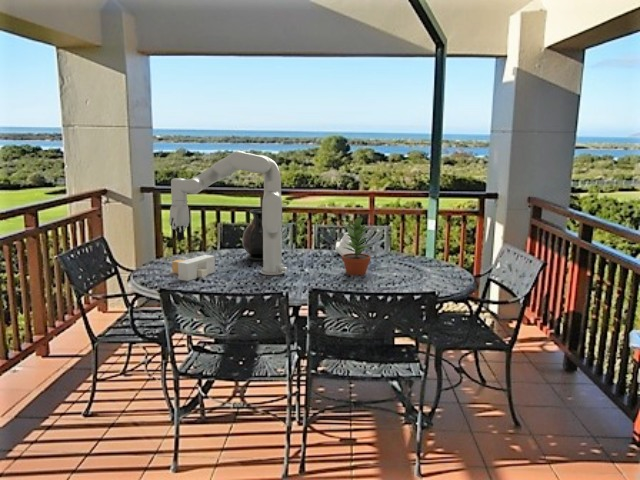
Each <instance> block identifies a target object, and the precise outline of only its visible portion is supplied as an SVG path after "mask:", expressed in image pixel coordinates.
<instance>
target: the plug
mask: <svg viewBox="0 0 640 480" xmlns="http://www.w3.org/2000/svg"><path fill="white" fill-rule="evenodd" d="M185 260H186V259H181V258H180V259H176V260H172V261H171V264H172V265H171V266H172V267H171V269H172V273H173V274H177V275H179V273H178V262H181V261H185ZM196 268H197V278H205V277H207V276H208V275H207V269H202V268H198V267H196Z"/></svg>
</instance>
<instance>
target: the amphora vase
mask: <svg viewBox="0 0 640 480" xmlns="http://www.w3.org/2000/svg"><path fill="white" fill-rule="evenodd" d="M249 214H252V217H253V218H252V221H251V222H249V224H248V226H246V228H245V229H244V231H243V235H242V239H241V240H242V241H241V242H242V247H243V249H244V251H245V252H246V253H247V255H246V258H247V259H248V260H250V261H253V262H263V226H262V208H257V209H250V210H249Z"/></svg>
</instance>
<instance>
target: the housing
mask: <svg viewBox="0 0 640 480" xmlns="http://www.w3.org/2000/svg"><path fill="white" fill-rule="evenodd" d="M215 259H216V258H215V255H209V254H204V255H201V256H200V255H199V256H196V257H192V258H188V259H184V260H185V261H181V262H178V273H179V274H178V280H181V281H186V282H187V281H188V282H189V281H192V280H195V279H197V278H198V277H197V268H202V269H207V276H208V275H210V274H211V275H212V274H214V273H216V261H215Z"/></svg>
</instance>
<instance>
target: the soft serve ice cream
mask: <svg viewBox="0 0 640 480" xmlns="http://www.w3.org/2000/svg"><path fill="white" fill-rule="evenodd" d="M347 234H349V231H348V232H344V233H343V236H342V237H341V239H340V241H336V243H335V249H334V250H335V251H336V252H337V253H338V254H339V255H340V256H341V257H343V255H344V254H350V253H355V252H354V251H355V250H354V249H353V248H352V247H351V246H349V245H347V244H349V243H350V242H352V240H350V239H351V238H350V236H348V235H347ZM349 238H350V239H349ZM345 243H347V244H345ZM344 247H347V248H350V249H352V250H354V251H351V250H348V249H346V248H344Z"/></svg>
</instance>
